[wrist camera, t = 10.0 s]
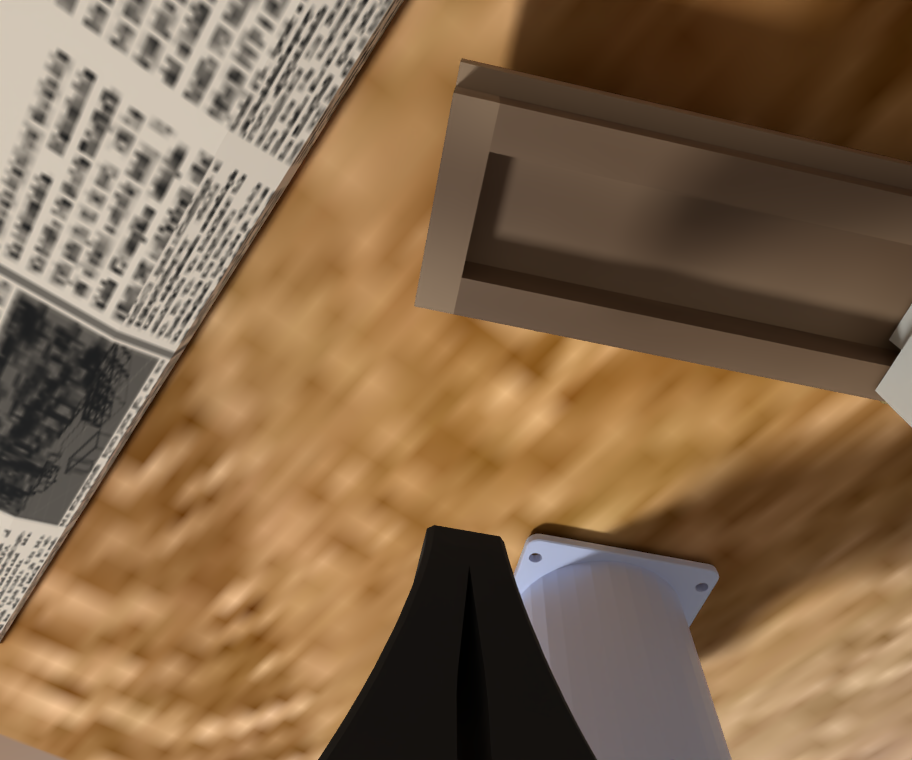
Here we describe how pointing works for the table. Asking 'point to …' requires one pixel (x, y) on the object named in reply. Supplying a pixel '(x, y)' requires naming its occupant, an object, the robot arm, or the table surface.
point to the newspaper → (134, 214)
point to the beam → (668, 232)
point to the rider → (900, 371)
